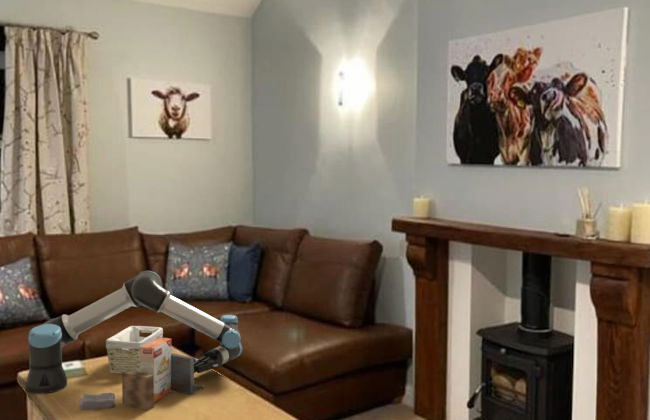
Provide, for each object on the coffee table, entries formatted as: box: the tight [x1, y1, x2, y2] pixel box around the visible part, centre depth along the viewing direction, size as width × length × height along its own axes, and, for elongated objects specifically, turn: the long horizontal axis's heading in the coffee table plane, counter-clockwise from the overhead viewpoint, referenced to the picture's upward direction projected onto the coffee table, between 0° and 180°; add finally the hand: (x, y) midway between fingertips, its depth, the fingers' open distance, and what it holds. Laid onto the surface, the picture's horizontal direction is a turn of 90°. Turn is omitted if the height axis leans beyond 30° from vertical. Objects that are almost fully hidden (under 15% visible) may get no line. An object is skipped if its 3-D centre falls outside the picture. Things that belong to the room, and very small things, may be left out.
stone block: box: [79, 392, 116, 411], centre depth 232 cm, size 12×5×10 cm
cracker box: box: [141, 337, 173, 404], centre depth 240 cm, size 14×6×21 cm, turn 167°
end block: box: [121, 370, 155, 411], centre depth 231 cm, size 12×3×12 cm, turn 64°
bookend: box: [170, 352, 204, 396], centre depth 249 cm, size 14×8×14 cm, turn 64°
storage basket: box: [105, 325, 164, 375], centre depth 274 cm, size 24×16×15 cm
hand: (179, 374), depth 247 cm, fingers closed
